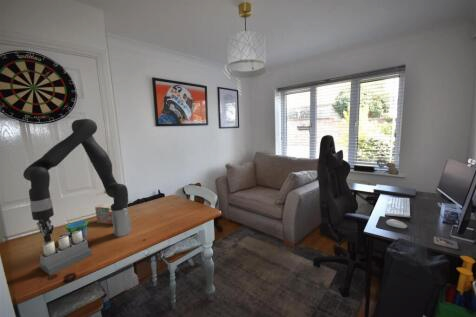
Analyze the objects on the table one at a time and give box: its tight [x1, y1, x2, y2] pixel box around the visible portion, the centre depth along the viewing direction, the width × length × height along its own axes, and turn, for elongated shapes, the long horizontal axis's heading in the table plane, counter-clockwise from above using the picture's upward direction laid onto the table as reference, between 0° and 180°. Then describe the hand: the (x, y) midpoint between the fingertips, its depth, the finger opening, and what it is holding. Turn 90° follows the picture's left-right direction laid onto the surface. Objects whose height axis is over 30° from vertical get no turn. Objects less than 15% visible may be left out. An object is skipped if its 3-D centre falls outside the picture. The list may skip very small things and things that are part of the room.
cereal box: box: [94, 203, 113, 225], centre depth 155 cm, size 21×6×12 cm, turn 76°
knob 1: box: [42, 240, 56, 257], centre depth 103 cm, size 4×4×6 cm
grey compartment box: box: [38, 238, 93, 276], centre depth 109 cm, size 18×12×8 cm, turn 150°
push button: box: [59, 231, 72, 243], centre depth 120 cm, size 7×5×10 cm
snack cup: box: [65, 220, 88, 242], centre depth 131 cm, size 16×10×10 cm
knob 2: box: [72, 231, 83, 245], centre depth 113 cm, size 4×4×6 cm
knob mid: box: [57, 236, 70, 251], centre depth 108 cm, size 4×4×6 cm
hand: (47, 241), depth 102 cm, fingers closed
